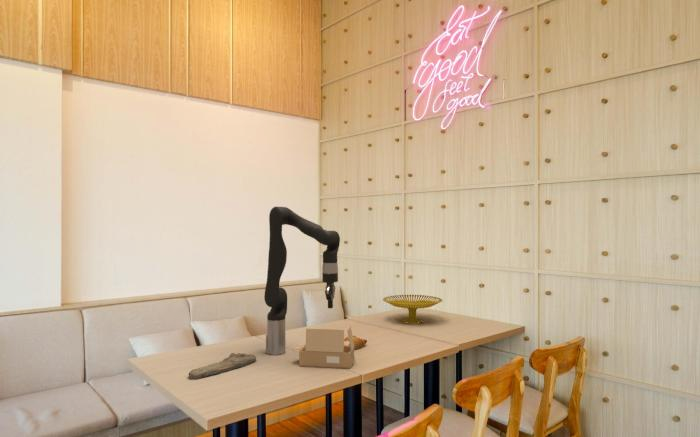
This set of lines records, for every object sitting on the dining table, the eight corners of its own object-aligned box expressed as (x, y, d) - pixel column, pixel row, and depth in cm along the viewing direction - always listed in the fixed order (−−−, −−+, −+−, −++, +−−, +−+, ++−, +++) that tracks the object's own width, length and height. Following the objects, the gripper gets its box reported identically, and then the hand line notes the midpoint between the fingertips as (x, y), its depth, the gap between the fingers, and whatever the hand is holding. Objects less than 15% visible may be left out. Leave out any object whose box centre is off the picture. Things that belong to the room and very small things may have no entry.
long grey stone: (183, 380, 198) (195, 386, 191) (183, 368, 197) (195, 374, 191) (248, 357, 225) (261, 362, 218) (248, 346, 224) (261, 351, 218)
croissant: (336, 359, 233) (339, 347, 230) (326, 346, 240) (330, 334, 237) (369, 351, 245) (373, 340, 242) (359, 339, 252) (363, 328, 249)
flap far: (351, 351, 209) (347, 329, 210) (353, 346, 216) (349, 326, 217) (352, 350, 209) (348, 329, 210) (354, 346, 216) (350, 326, 217)
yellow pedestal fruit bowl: (371, 323, 302) (371, 300, 302) (400, 313, 334) (400, 292, 334) (426, 331, 278) (426, 306, 278) (452, 319, 311) (452, 297, 311)
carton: (290, 365, 211) (290, 350, 212) (302, 353, 231) (302, 339, 231) (350, 368, 207) (350, 352, 207) (356, 355, 227) (356, 341, 227)
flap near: (305, 350, 210) (306, 328, 212) (343, 352, 207) (344, 329, 209) (305, 350, 210) (306, 328, 212) (343, 352, 207) (343, 329, 209)
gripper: (325, 270, 225) (325, 305, 225) (319, 273, 212) (319, 310, 212) (340, 270, 224) (340, 305, 224) (335, 273, 211) (335, 310, 211)
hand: (330, 308), depth 218 cm, fingers closed
